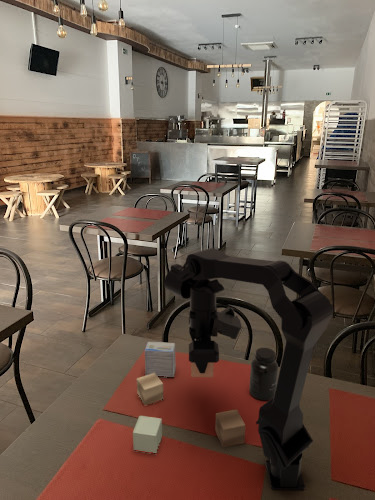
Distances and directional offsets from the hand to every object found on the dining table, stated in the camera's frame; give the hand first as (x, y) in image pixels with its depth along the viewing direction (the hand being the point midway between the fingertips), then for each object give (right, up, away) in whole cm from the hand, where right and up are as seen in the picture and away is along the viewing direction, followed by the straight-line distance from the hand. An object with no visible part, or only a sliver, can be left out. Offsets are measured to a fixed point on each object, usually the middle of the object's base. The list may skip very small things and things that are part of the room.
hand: (202, 365), depth 91 cm
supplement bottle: (+16, -10, +11) cm, 22 cm away
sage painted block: (-12, -16, -5) cm, 20 cm away
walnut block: (+6, -15, -3) cm, 17 cm away
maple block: (-13, -11, +9) cm, 19 cm away
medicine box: (-11, -8, +19) cm, 23 cm away
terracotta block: (0, -1, 0) cm, 1 cm away
